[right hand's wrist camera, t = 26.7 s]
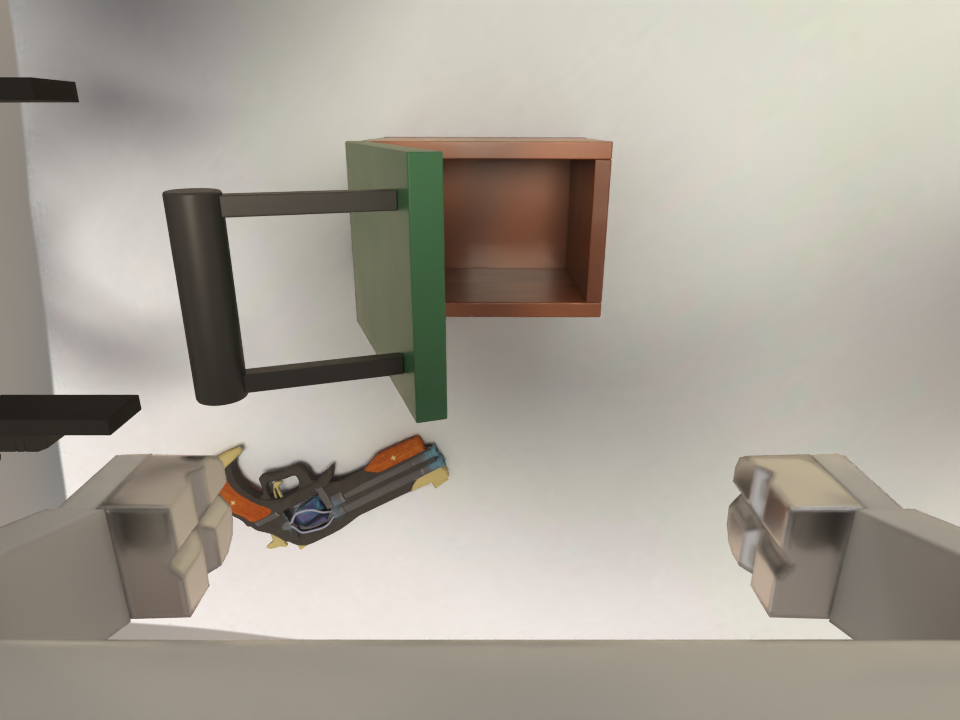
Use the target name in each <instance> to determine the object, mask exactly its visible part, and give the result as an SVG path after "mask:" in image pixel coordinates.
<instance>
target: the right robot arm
mask: <svg viewBox="0 0 960 720" xmlns="http://www.w3.org/2000/svg"><path fill="white" fill-rule="evenodd" d="M226 482H227V479H226V474H225V469H224V464H223V462H222V460H221V459H220V458H219V457H218V456H206V455H153V454H129V455H116V456H115V457H114V458H113V459H112V460H111V461H109V462H108V463H107V464H106V465H105V466H104V467H103V468H102V469H100V470H99V471H98V472H97V473H96V474H95V475H94V476H93V477H92V478H90V479H89V480H88V481H87V482H86V483H85V484H84V485H83V486H82V487H80V488H79V489H78V490H77V491H76V492H75V493H74V494H73V495H71V496H70V497H69V498H68V499H67V500H66V501H65V502H64V503H63V504H62V505H60V506H59V507H58V508H57V509H45V510H42V511H40V512H37V513H35V514H32V515H30V516H27V517H25V518H22V519H19V520H17V521H15V522H12V523H10V524H7V525H4V526H2V527H0V720H960V527H958V526H955V525H953V524H950V523H948V522H945V521H943V520H940V519H938V518H935V517H933V516H930V515H928V514H925V513H923V512H920V511H918V510H915V509H903V508H902V507H901V506H900V505H899V504H897V503H896V502H895V501H894V500H893V499H892V498H891V497H890V496H889V495H887V494H886V493H885V492H884V491H883V490H882V489H881V488H880V487H879V486H877V485H876V484H875V483H874V482H873V481H872V480H871V479H870V478H869V477H867V476H866V475H865V474H864V473H863V472H862V471H861V470H860V469H859V468H857V467H856V466H855V465H854V464H853V463H852V462H851V461H850V460H849V459H847V458H846V457H845V456H843V455H839V454H819V455H810V454H805V455H763V456H744V457H740V458H739V460H738V463H737V465H736V467H735V473H734V479H733V482H734V483H735V485H736V486H737V488H738V490H739V491H740V493H741V494H740V495H739V496H738V497H737V498H736V499H735V500H734V501H733V502H732V503H731V504H730V506H729V511H728V520H727V530H728V541H729V545H730V548H731V551H732V554H733V556H734V558H735V559H736V561H737V563H738V565H739V566H741V567H742V568H744V569H745V570H747V571H749V572H750V573H752V580H751V587H752V589H753V590H754V592H755V594H756V595H757V597H758V599H759V600H760V602H761V604H762V605H763V607H764V609H765V610H766V612H767V614H768V615H769V617H778V618H815V619H830V620H829V622H831V623H832V624H833V625H835V626H836V627H837V628H839V629H840V630H841V631H843V632H844V633H845V634H847V635H848V636H850V637H851V638H852V639H854V640H107V639H108V638H109V637H111V636H112V635H113V634H115V633H116V632H117V631H119V630H120V629H121V628H123V627H124V626H126V625H127V624H128V623H130V621H131V620H130V619H144V618H180V617H191V616H192V614H193V612H194V611H195V609H196V607H197V606H198V604H199V602H200V600H201V599H202V597H203V595H204V594H205V592H206V590H207V589H208V587H209V580H208V573H210V572H211V571H213V570H215V569H216V568H218V567H219V566H221V565H222V563H223V561H224V559H225V558H226V556H227V554H228V551H229V547H230V543H231V539H232V535H233V517H232V510H231V506H230V504H229V503H228V502H227V501H226V500H225V499H224V498H223V497H222V496H221V495H220V494H219V493H220V491H221V490H222V488H223V487H224V485H225V483H226Z"/></svg>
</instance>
